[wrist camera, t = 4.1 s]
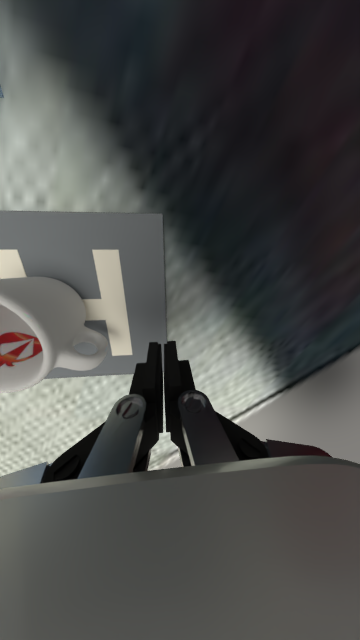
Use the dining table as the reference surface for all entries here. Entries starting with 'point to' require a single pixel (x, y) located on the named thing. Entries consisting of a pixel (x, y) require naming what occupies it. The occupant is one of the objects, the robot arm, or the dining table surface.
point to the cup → (42, 331)
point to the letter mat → (96, 276)
